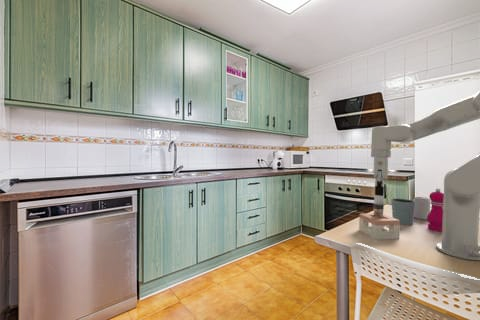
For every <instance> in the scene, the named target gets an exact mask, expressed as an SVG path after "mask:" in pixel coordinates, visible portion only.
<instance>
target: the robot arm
mask: <svg viewBox="0 0 480 320" xmlns="http://www.w3.org/2000/svg"><path fill="white" fill-rule="evenodd" d="M477 120H480V90H479V91H478V92H477V93H476V94H474V95H471V96H468V97H466V98H463V99H460V100H458V101H456V102H453V103H451V104H448V105H446V106H443V107H440V108H438V109H436V110H435V111H434V112H432V113H430V115H428V116H426V117H424V118H422V119H419V120H416V121H415V122H412V123H409V124H396V125H389V126H388V125H380V126H374V127H372V129H371V142H370V144H371V146H370V150H371V151H370V158H373V179H374V180H376V186H375V185H374V191H375V195H378V196H383V193H384V194H385V186H384V187H383V181H384V182H385V181H387V180H388V176H389V175H388V174H389V173H388V172H389V159H390V158H391V157H392V142H394V143H400V144H407V143H411V142H413V141H418V140H420V139H423V138H426V137H428V136H432V135H434V134H437V133H441V132H445V131H447V130H450V129H454V128H456V127H460V126H462V125H465V124H469V123H470V122H474V121H477ZM443 194H444V201H443V221H442V232H441V242H437V243H436V244H435V248H436V249H437V250H438V251H439V252H442V253H443V254H446V255H449V256H452V257H453V258H454V257H455V258H458V259H464V260H469V261H480V244H479V232H480V230H479V229H480V152H478V154H477V155H476V156H475V157H473V158H472V159H470V160H469V161H467V162H466V163H464V164H463V165H460V167H458V168H454V169H453V168H452V169H451V170H449V171H448V172H447V173H446V174H445V176H444V179H443Z"/></svg>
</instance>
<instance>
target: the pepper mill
mask: <svg viewBox="0 0 480 320" xmlns="http://www.w3.org/2000/svg"><path fill="white" fill-rule="evenodd" d="M428 198H429V200H430V205H431V207H430V213H429V214H428V216H427V220H426V222H427V223H428V224H427V229H428V230H430V231H434V232H440V233H442V221H443V201H444V192H441V189H440V188H436V189H435V191H432V192H431V193H430V194H429V196H428Z"/></svg>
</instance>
